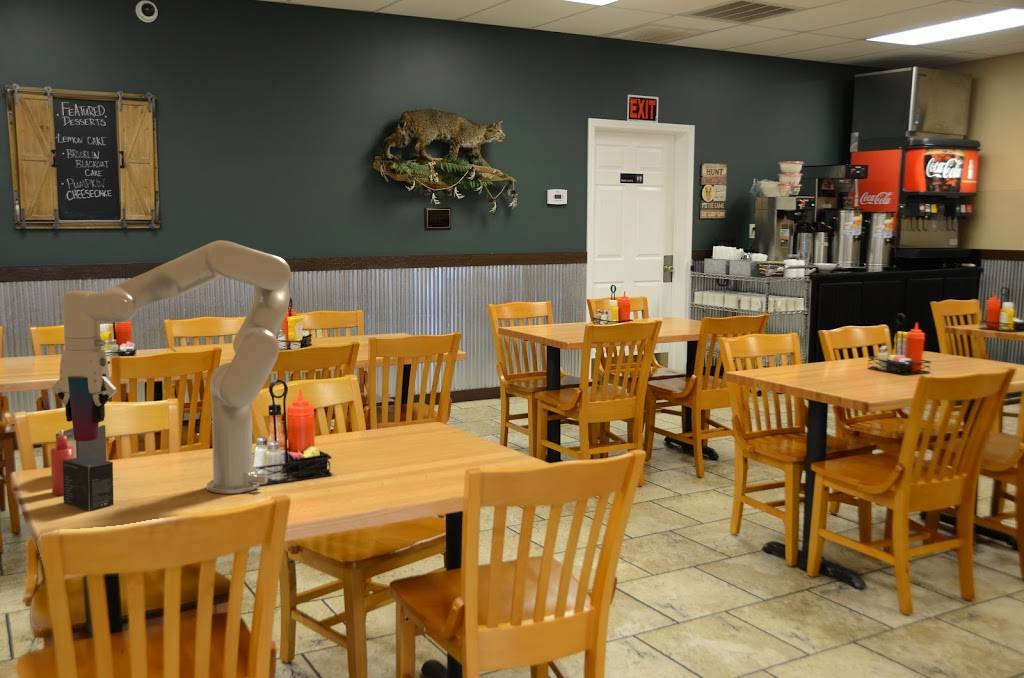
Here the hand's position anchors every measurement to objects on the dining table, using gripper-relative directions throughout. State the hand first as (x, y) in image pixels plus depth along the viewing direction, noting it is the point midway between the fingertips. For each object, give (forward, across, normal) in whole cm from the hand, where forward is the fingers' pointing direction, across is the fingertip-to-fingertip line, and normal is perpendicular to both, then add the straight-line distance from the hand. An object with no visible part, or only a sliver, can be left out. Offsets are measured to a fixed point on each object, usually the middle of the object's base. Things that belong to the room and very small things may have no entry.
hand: (85, 420), depth 205 cm
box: (+20, 0, 0) cm, 20 cm away
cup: (+5, 0, 0) cm, 5 cm away
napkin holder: (+20, +15, -21) cm, 33 cm away
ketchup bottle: (+20, +11, -7) cm, 24 cm away
